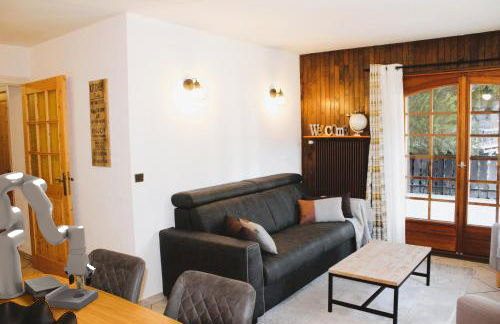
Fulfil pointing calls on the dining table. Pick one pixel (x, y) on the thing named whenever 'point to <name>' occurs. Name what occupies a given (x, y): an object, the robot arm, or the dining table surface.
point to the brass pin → (80, 281)
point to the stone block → (41, 286)
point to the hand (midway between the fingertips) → (80, 284)
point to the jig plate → (70, 297)
